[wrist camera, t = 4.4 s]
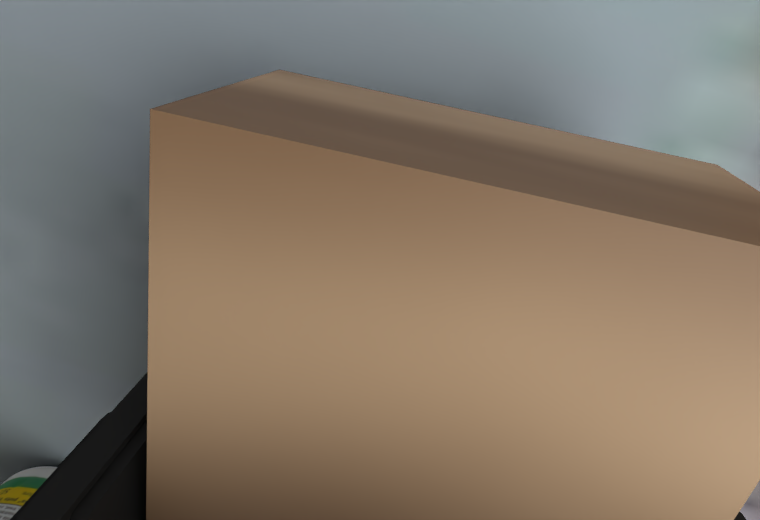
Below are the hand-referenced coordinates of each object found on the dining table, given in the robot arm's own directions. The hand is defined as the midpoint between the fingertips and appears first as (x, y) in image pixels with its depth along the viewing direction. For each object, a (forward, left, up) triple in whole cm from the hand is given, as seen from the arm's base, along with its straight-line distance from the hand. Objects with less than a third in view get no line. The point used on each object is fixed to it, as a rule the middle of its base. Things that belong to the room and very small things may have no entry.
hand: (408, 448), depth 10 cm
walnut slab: (0, 0, -1) cm, 1 cm away
